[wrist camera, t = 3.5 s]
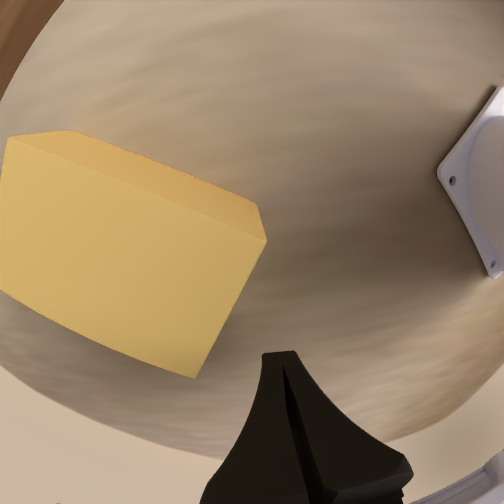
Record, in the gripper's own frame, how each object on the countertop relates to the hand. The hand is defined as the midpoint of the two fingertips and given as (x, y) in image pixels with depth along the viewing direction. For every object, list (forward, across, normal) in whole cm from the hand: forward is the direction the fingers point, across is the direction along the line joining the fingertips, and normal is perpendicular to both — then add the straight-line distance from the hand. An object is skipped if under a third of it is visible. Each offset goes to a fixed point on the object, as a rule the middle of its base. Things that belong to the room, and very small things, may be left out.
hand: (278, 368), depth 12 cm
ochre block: (+3, +6, -6) cm, 9 cm away
